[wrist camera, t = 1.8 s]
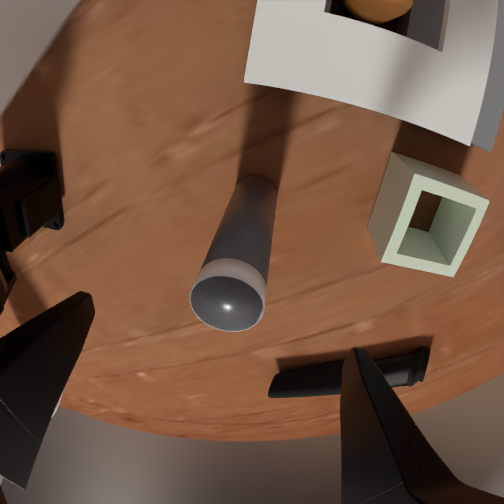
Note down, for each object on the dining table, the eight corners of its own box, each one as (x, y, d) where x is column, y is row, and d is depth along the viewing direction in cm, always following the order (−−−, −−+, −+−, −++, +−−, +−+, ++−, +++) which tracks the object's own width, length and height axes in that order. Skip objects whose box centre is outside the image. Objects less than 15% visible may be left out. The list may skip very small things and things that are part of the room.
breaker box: (257, 78, 16) (243, 82, 11) (289, -93, 9) (287, -138, 4) (475, 143, 15) (524, 173, 11) (503, -12, 9) (553, -20, 4)
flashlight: (232, 209, 20) (189, 323, 12) (237, 170, 19) (191, 268, 10) (273, 217, 20) (257, 337, 12) (281, 178, 19) (270, 284, 10)
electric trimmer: (267, 359, 29) (263, 387, 26) (430, 341, 25) (438, 367, 22) (274, 381, 30) (271, 407, 28) (423, 364, 27) (430, 390, 24)
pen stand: (367, 226, 20) (380, 261, 16) (391, 151, 17) (414, 173, 13) (432, 242, 20) (453, 277, 16) (459, 175, 17) (489, 200, 13)
